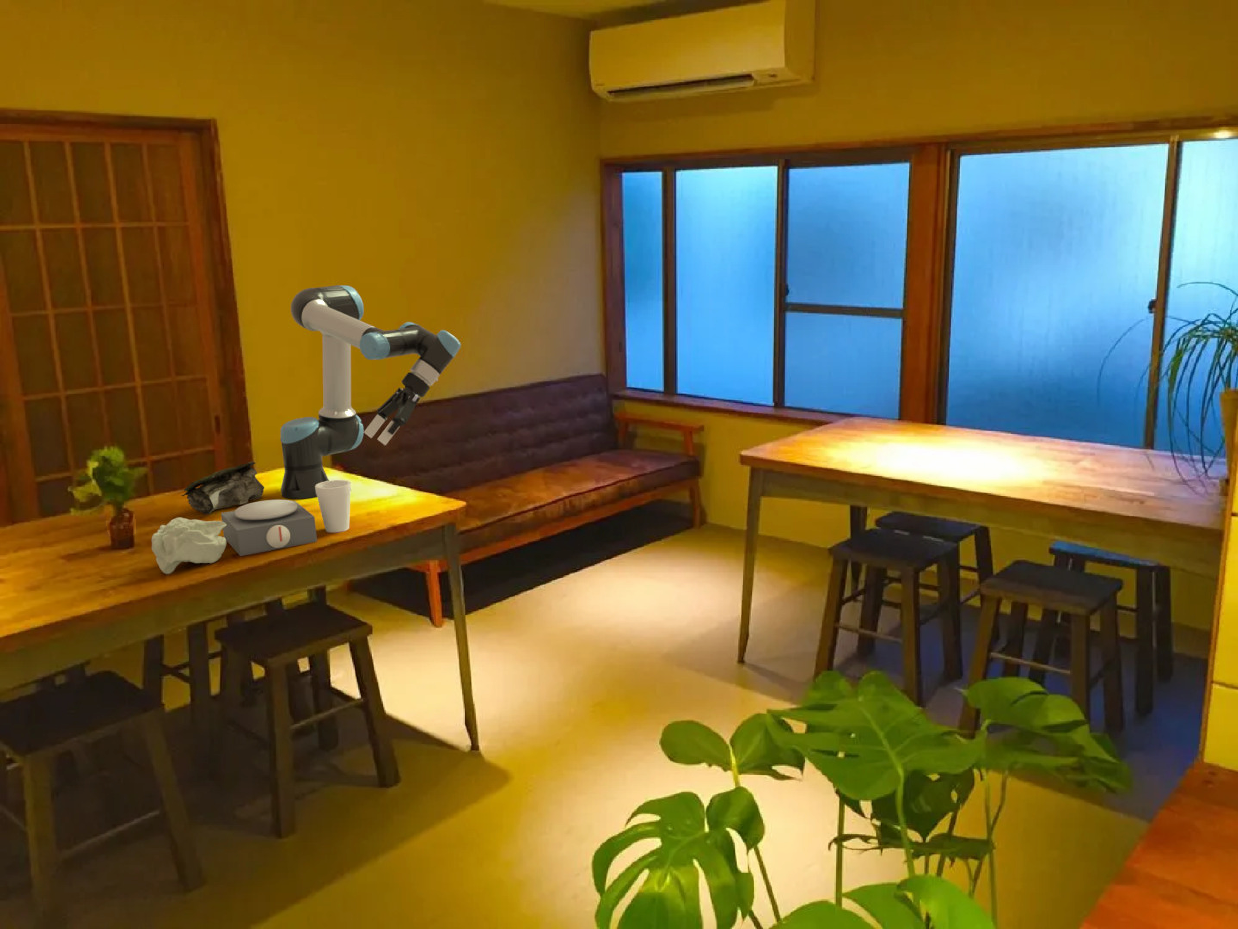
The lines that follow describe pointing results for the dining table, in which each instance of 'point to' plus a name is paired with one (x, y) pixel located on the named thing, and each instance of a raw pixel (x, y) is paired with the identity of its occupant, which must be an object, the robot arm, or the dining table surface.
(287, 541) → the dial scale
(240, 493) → the weathered wood log
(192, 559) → the wavy plaster lump
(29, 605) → the dining table surface
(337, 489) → the foam cup
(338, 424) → the robot arm
